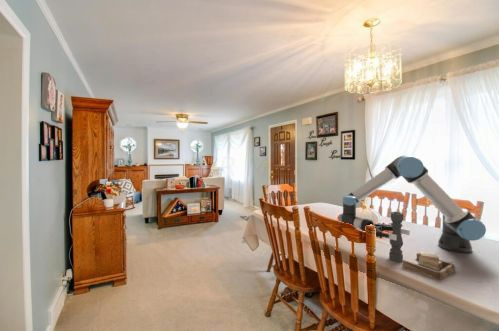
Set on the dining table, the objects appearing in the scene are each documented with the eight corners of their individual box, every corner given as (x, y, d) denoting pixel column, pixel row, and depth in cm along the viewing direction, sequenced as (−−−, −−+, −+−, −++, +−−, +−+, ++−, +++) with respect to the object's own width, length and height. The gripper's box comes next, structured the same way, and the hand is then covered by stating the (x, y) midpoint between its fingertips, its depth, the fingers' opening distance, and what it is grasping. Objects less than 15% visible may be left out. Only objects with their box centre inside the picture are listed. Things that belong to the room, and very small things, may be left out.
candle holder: (397, 257, 129) (398, 211, 128) (405, 262, 123) (406, 214, 121) (386, 257, 129) (387, 211, 127) (393, 262, 122) (394, 214, 121)
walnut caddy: (417, 258, 127) (417, 252, 127) (454, 270, 114) (454, 264, 114) (402, 266, 118) (402, 260, 118) (440, 280, 105) (440, 273, 105)
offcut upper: (419, 257, 122) (419, 251, 122) (436, 260, 119) (436, 254, 119) (421, 261, 118) (421, 255, 118) (438, 263, 115) (438, 257, 115)
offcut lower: (423, 261, 124) (423, 256, 124) (441, 267, 117) (442, 261, 117) (418, 264, 121) (418, 258, 121) (437, 270, 114) (437, 264, 114)
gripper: (375, 227, 147) (414, 237, 129) (350, 235, 134) (390, 247, 116) (375, 215, 147) (414, 223, 129) (351, 222, 133) (390, 232, 115)
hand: (403, 235), depth 122 cm, fingers open, 13 cm apart
